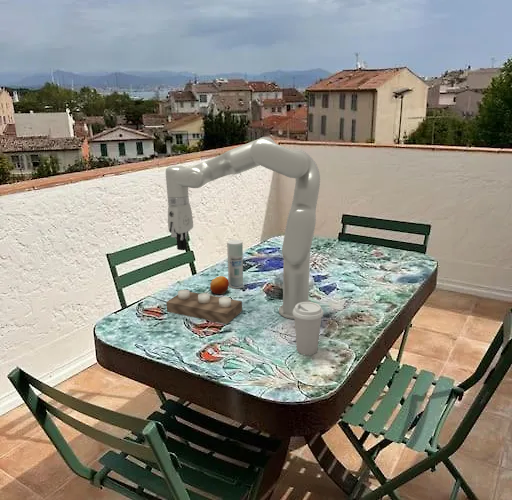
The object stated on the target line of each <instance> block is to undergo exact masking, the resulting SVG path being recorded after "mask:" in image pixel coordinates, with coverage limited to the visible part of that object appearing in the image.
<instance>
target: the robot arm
mask: <svg viewBox="0 0 512 500" xmlns="http://www.w3.org/2000/svg"><path fill="white" fill-rule="evenodd" d="M260 166H261V167H263V168H265V169H268V170H270V171H273V172H274V173H276V174H277V173H278V174H279V175H282V176H285V177H286V178H287V177H288V178H290V179H295V183H294V189H293V196H292V202H291V206H290V209H289V212H288V215H287V219H286V220H287V221H286V226H285V232H284V237H283V243H282V248H281V254H282V258H283V273H282V276H283V277H282V281H283V282H282V283H283V284H282V292H283V293H282V305H281V306H279V308H278V314H279V315H281V317H283V318H286V319H289V320H290V319H291V320H294V315H293V313H292V312H293V309H294V308H295V306H296V304H298V303H301V302H312V301H311V300H309V299H310V298H309V294H310V293H309V291H310V269H311V268H310V264H311V261H310V260H311V250H312V249H311V248H312V244H313V238H314V233H315V229H316V224H317V214H316V212H317V205H318V201H319V194H320V188H321V187H320V186H321V175H320V169H319V167H318V164H317V163H316V161H315V160H314V158H313V157H312V156H311V155H310V154H309V153H307V152H306V151H304V150H302V149H290V148H287V147H285V146H283V145H279V144H278V143H276V141H274V139H272V138H271V137H267V136H263V137H260V138H258V139H255V140H252V141H249V142H248V143H245V144H242V145H240V146H237V147H235V148H232V149H230V150H227V151H225V152H224V153H222V154H220V155H217V156H215V157H213V158H211V159H208V160H205V161H203V162H201V163H198V164H195V165H193V166H191V167H186V166H184V165H173V166H168V167H166V168H165V181H166V182H165V183H166V184H165V185H166V195H167V206H168V207H167V227H168V232H169V233H170V237H171V238H175V240H176V249H177V251H185V250H187V249H188V248H187V247H188V246H187V238H188V233H189V232H190V230H192V229H193V228H194V219H193V213H192V207H191V204H190V199H189V195H190V194H189V189H199V188H202V187H203V186H205V185H206V184H208V183H210V182H212V181H214V180H218V179H220V178H223V177H226V176H230V175H239V174H241V173H243V172H247V171H249V170H252V169H254V168H257V167H260Z"/></svg>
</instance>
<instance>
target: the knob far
mask: <svg viewBox="0 0 512 500" xmlns="http://www.w3.org/2000/svg"><path fill="white" fill-rule="evenodd" d="M189 292H190V290H189V289H179V290H178V291H177V295H178V298H179V299H181V300H185V299H189V298H190V293H189Z"/></svg>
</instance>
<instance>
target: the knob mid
mask: <svg viewBox="0 0 512 500" xmlns="http://www.w3.org/2000/svg"><path fill="white" fill-rule="evenodd" d="M210 296H211V295H210V293H208V292H202V293H199V295H198V302H199V303H202V304H205V303H209V302H210Z"/></svg>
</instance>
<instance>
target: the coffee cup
mask: <svg viewBox="0 0 512 500" xmlns="http://www.w3.org/2000/svg"><path fill="white" fill-rule="evenodd" d="M292 313H293V315H294V319H293V320H294V328H295V329H294V332H295V342H296V343H295V345H296V352H297V351H298V352H299V353H298V352H297V353H298V354H300V353H301V354H300V355H302V354H305V355H304V356H310V355H309V354H313V355H315V354H317V353H318V348H319V342H320V341H319V340H320V331H321V326H322V325H321V323H322V318H323V317H324V311H323V308H322V307H321V304H319V303H316V302H313V301H311V302H301V303H298V304H296V306H295V308H294V309H293V312H292ZM314 353H315V354H314Z"/></svg>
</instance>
